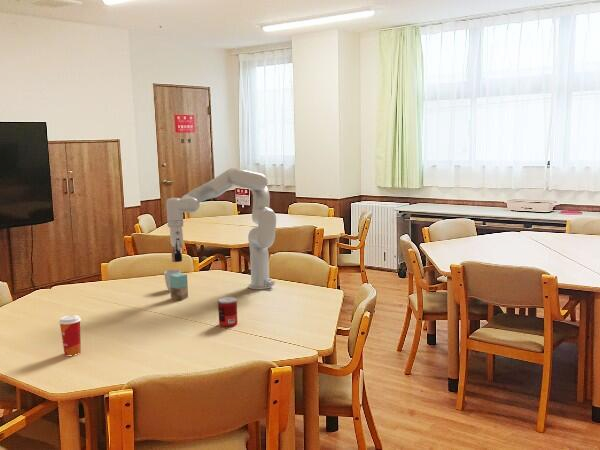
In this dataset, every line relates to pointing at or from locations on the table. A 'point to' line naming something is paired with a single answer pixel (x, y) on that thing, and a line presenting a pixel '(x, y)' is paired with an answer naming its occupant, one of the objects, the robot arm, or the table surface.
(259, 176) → the robot arm
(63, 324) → the paper cup
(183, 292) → the tower bottom
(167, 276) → the cup
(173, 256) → the drum
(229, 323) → the canned food
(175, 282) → the tower top
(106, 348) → the table surface
